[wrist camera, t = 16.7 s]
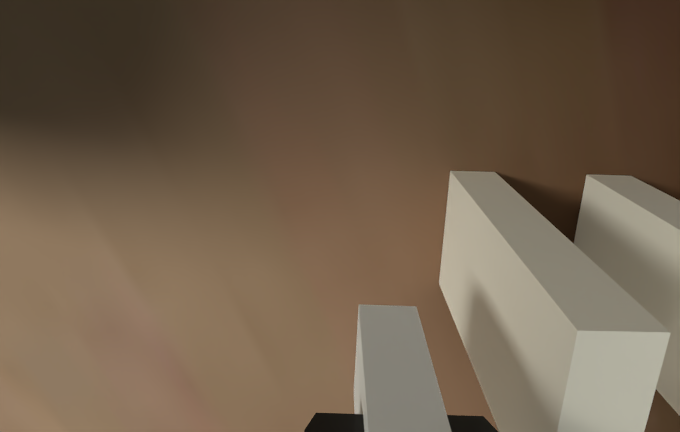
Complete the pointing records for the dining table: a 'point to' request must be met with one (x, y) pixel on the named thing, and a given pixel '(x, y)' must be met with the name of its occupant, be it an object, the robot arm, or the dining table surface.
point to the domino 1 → (543, 318)
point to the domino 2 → (638, 254)
